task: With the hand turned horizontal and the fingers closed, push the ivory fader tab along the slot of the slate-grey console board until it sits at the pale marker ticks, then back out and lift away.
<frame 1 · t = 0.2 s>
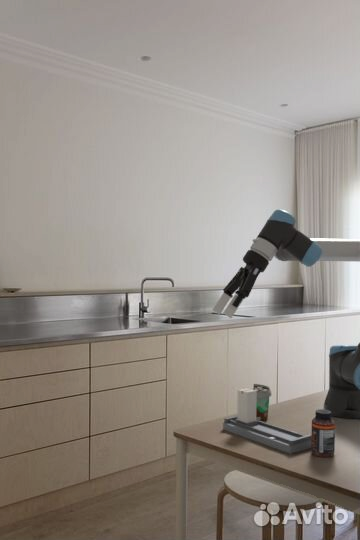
hand: (221, 314, 158), 35 cm above the table, tool tilted 35°, fingers open, 13 cm apart
supplement bottle: (322, 454, 139), on the table
console board: (266, 437, 152), on the table
fader tab: (246, 406, 158), point 7 cm above the table, slide at 0.0 cm
food container: (261, 419, 171), on the table
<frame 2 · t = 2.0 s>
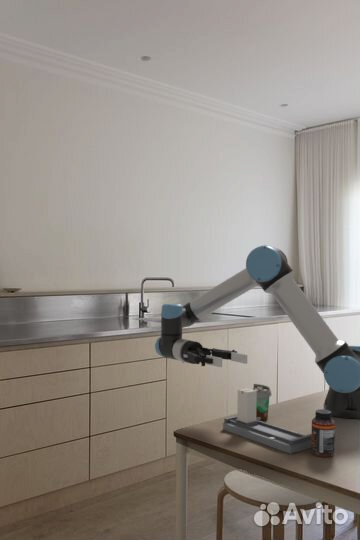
hand: (234, 361, 162), 20 cm above the table, tool horizontal, fingers open, 10 cm apart
nothing on the table moved.
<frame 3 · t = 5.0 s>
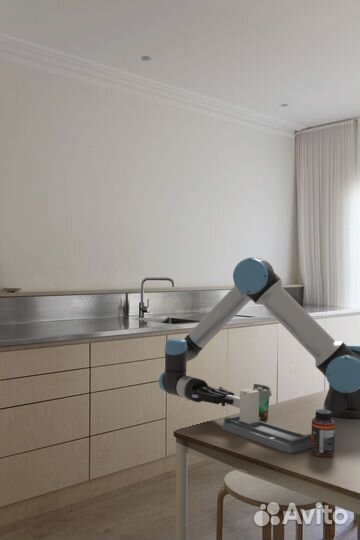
hand: (242, 403, 158), 8 cm above the table, tool horizontal, fingers closed
fader tab: (249, 407, 157), point 7 cm above the table, slide at 1.0 cm, touching gripper
everything else where it was.
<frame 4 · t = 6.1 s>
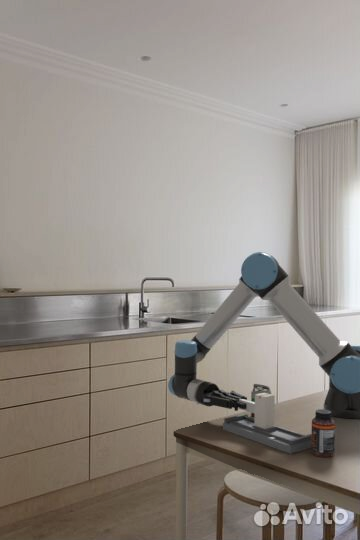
hand: (256, 408, 153), 8 cm above the table, tool horizontal, fingers closed
fader tab: (264, 412, 152), point 7 cm above the table, slide at 7.1 cm, touching gripper
everything else where it was.
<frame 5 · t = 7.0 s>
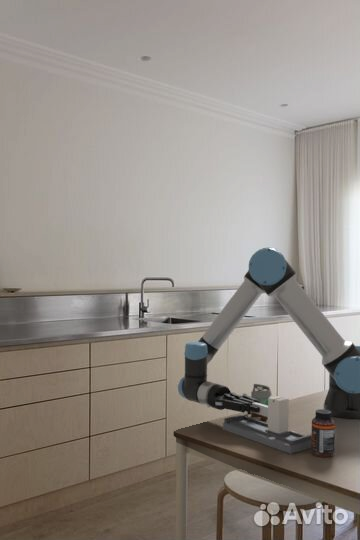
hand: (270, 412, 149), 8 cm above the table, tool horizontal, fingers closed
fader tab: (278, 416, 148), point 7 cm above the table, slide at 12.3 cm, touching gripper
everything else where it was.
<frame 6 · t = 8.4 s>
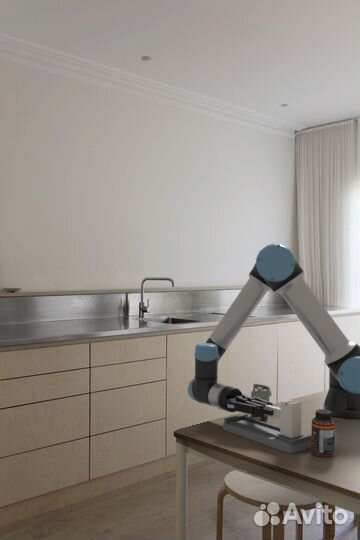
hand: (284, 414, 146), 8 cm above the table, tool horizontal, fingers closed
fader tab: (290, 419, 145), point 7 cm above the table, slide at 16.8 cm, touching gripper
everything else where it was.
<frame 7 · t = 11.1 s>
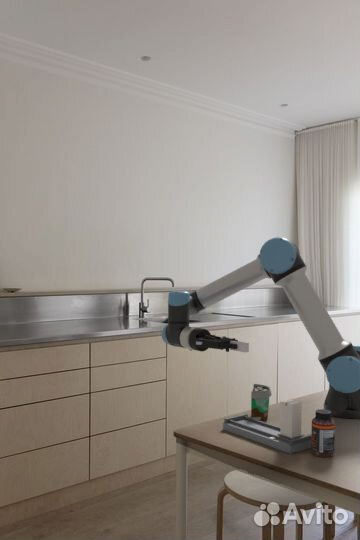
hand: (246, 347, 158), 25 cm above the table, tool horizontal, fingers closed
fader tab: (290, 420, 145), point 7 cm above the table, slide at 16.8 cm
everything else where it was.
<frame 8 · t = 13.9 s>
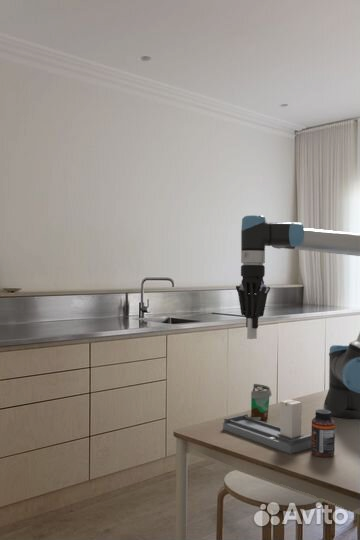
hand: (251, 338, 167), 26 cm above the table, tool pointing down, fingers closed
nothing on the table moved.
at the end: fader tab slide at 16.8 cm; fader tab touching nothing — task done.
